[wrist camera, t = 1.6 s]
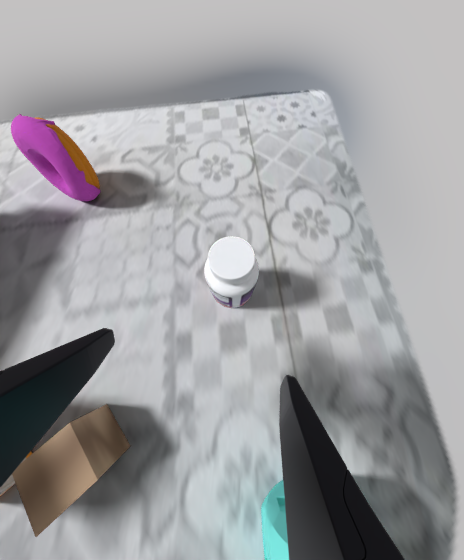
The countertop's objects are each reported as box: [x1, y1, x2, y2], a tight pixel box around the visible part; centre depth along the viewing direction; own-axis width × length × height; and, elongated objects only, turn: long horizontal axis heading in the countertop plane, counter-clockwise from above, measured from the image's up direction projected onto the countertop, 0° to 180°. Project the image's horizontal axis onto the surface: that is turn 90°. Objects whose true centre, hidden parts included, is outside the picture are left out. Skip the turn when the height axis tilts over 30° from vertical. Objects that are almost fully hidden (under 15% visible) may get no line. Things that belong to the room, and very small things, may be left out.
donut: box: [11, 114, 100, 201], centre depth 25 cm, size 8×9×10 cm
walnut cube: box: [12, 404, 130, 537], centre depth 17 cm, size 5×5×5 cm
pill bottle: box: [204, 236, 259, 308], centre depth 20 cm, size 5×5×10 cm
